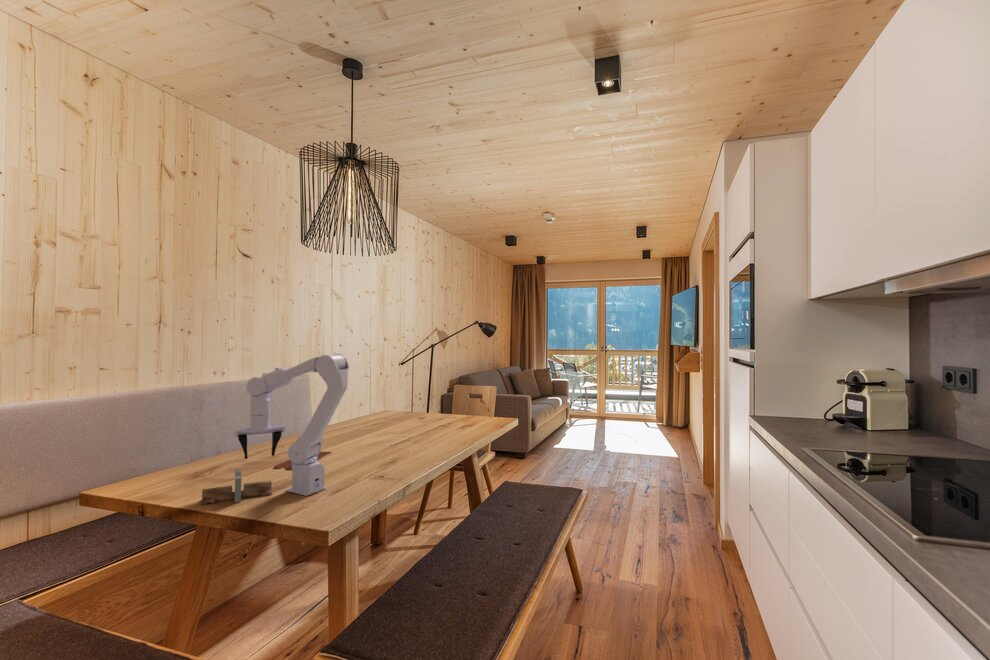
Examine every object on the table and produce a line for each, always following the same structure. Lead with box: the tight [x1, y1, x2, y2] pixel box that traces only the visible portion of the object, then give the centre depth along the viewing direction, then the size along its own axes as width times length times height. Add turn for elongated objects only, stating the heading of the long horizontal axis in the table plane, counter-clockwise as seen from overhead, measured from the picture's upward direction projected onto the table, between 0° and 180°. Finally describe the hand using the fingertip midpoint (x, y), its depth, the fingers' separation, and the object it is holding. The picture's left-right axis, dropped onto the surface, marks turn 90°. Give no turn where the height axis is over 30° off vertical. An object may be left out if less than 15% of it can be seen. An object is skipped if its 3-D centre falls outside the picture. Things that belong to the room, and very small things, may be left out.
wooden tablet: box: [273, 451, 332, 471], centre depth 176 cm, size 27×10×2 cm, turn 167°
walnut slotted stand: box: [201, 479, 273, 505], centre depth 136 cm, size 18×5×4 cm, turn 119°
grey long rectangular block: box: [234, 468, 242, 504], centre depth 136 cm, size 10×2×7 cm, turn 30°
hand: (259, 456), depth 145 cm, fingers open, 7 cm apart
